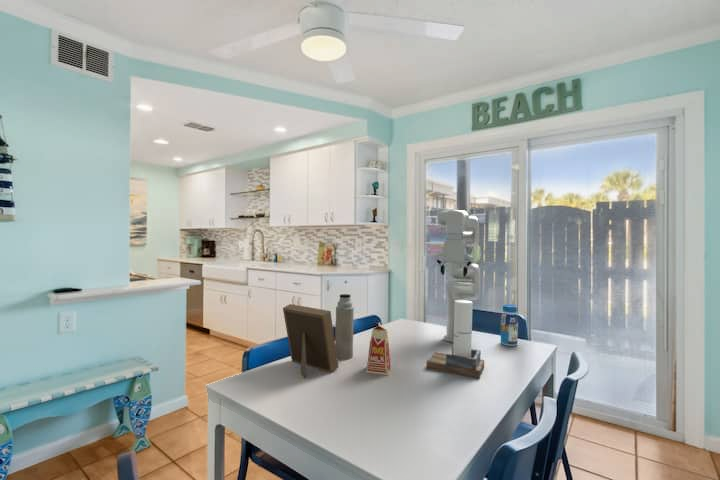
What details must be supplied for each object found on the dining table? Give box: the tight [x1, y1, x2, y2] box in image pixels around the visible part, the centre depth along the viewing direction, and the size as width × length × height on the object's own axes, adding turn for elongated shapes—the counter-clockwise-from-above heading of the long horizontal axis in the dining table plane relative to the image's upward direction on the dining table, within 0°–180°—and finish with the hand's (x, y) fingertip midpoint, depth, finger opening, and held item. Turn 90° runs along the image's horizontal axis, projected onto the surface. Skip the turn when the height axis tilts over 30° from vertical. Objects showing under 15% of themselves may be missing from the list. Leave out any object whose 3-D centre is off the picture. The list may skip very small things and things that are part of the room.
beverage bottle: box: [500, 304, 519, 347], centre depth 187 cm, size 8×8×20 cm
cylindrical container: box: [453, 299, 474, 358], centre depth 150 cm, size 7×7×25 cm
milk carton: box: [365, 322, 392, 376], centre depth 147 cm, size 9×9×20 cm
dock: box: [426, 345, 485, 379], centre depth 151 cm, size 14×21×7 cm, turn 64°
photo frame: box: [282, 303, 339, 379], centre depth 145 cm, size 15×22×25 cm
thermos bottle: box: [334, 293, 355, 361], centre depth 162 cm, size 8×8×28 cm
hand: (453, 275), depth 163 cm, fingers open, 9 cm apart
